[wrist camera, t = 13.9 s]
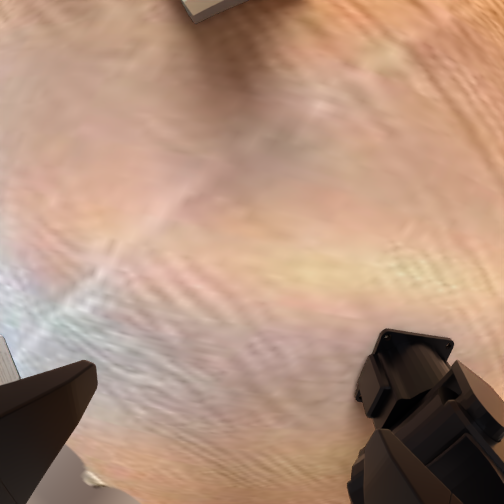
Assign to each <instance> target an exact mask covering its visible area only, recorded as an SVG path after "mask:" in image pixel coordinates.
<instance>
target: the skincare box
mask: <svg viewBox="0 0 504 504" xmlns="http://www.w3.org/2000/svg"><path fill="white" fill-rule="evenodd" d="M18 379H19V375H18V373H17V370H16V368H15V365H14V363H13V360H12V358H11V355H10V353H9V350H8V348H7V345H6V342H5V340H4V338H3V336H2V335H0V385H3V384H6V383H10V382H13V381H17V380H18Z"/></svg>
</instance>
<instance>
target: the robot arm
mask: <svg viewBox="0 0 504 504" xmlns="http://www.w3.org/2000/svg"><path fill="white" fill-rule="evenodd" d="M387 334H389V337H387V338H384V337H385V335H387ZM448 343H449V345H448V346H446V345H447V344H448ZM453 346H454V342H453V341H452V340H451V339H450V338H445V337H438V336H432V335H425V334H418V333H412V332H406V331H400V330H394V329H384V330H383V331H382V332H381V333H380V335H379V338H378V341H377V343H376V346H375V348H374V351H373V353H372V354H371V355H369V356H368V359H367V361H366V363H365V366H364V368H363V371H362V373H361V375H360V377H359V380H358V385H359V386H358V388H357V390H356V393H355V398H356V400H357V401H358V402H363V405H364V409H365V413H366V416H367V417H368V418H372V419H373V423H374V427H375V431H374V433H373V435H372V436H371V438H370V439H369V441H368V443H367V444H366V446H365V447H364V448H363V449H361V450H360V451H359V456H358V459H357V460H356V461H355V463H354V465H353V466H352V473H351V480H350V481H349V482H348V483H347V490H348V494H349V498H350V501H351V504H504V402H503V400H502V399H501V398H500V397H499V395H498V394H497V393H496V392H495V391H494V389H493V388H492V387H491V386H490V385H489V384H487V383H486V382H485V381H484V380H482V379H481V378H480V377H479V376H477V375H476V374H475V373H474V372H472V371H471V370H470V369H469V368H467V367H466V366H465V365H463V364H462V363H461V362H460V361H458V360H456V361H455V362H454V364H453V365H452V366H450V365H449V363H448V362H447V359H448V357H449V355H450V353H451V351H452V349H453ZM97 385H98V381H97V371H96V365H95V364H94V363H92V362H89V361H87V360H81V361H78V362H75V363H72V364H69V365H66V366H63V367H59V368H56V369H53V370H50V371H47V372H43V373H40V374H37V375H34V376H30V377H27V378H24V379H20V380H17V381H13V382H10V383H6V384H3V385H0V504H26V503H27V501H28V500H29V498H30V496H31V495H32V493H33V492H34V490H35V488H36V487H37V485H38V484H39V482H40V481H41V479H42V478H43V476H44V474H45V473H46V471H47V470H48V468H49V467H50V465H51V463H52V462H53V460H54V459H55V458H56V456H57V455H58V453H59V452H60V450H61V449H62V447H63V446H64V444H65V443H66V441H67V440H68V438H69V437H70V435H71V434H72V432H73V431H74V429H75V428H76V426H77V425H78V423H79V421H80V420H81V418H82V416H83V414H84V412H85V410H86V408H87V406H88V404H89V402H90V400H91V398H92V397H93V395H94V393H95V391H96V389H97ZM360 395H361V396H360Z"/></svg>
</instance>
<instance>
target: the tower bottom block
mask: <svg viewBox="0 0 504 504" xmlns="http://www.w3.org/2000/svg"><path fill="white" fill-rule="evenodd" d="M246 1H249V0H224V1H221V2H219V3H217V4H215V5H213V6H211V7H209V8H207V9H205V10H203V11H201V12H199V13H197V14H195V15H194V16H193V15H192V13H191V12H190V11H189V9H188V8H187V6H186V5H185V4H184V2H183V1H182V0H181V2H182V4H183V6H184V7H185V9H186V11H187V13H188V15H189V17H190V18H191V19H192V21H193V22H194V23H195V24H197V23H199V22H201V21H203V20H205V19H207V18H209V17H211V16H213V15H215V14H218V13H220V12H222V11H224V10H227V9H229V8H231V7H234V6H236V5H239V4H241V3H243V2H246Z"/></svg>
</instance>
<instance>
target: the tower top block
mask: <svg viewBox="0 0 504 504" xmlns="http://www.w3.org/2000/svg"><path fill="white" fill-rule="evenodd" d="M182 1H183V2H184V4H185V5H186V6H187V8H188V9H189V11H190V12H191V13H192V15H193V16H194V15H195V14H197V13H199V12H201V11H203V10H205V9H207V8H209V7H211V6H213V5H215V4H217V3H219V2H221V1H224V0H182Z"/></svg>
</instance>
